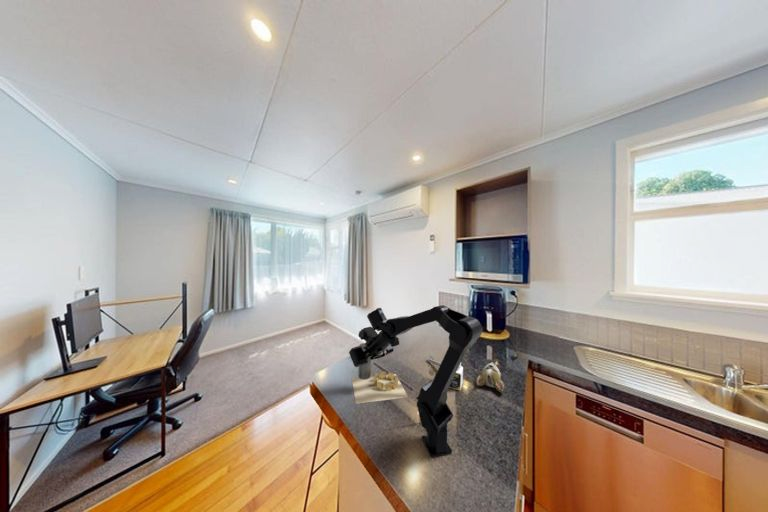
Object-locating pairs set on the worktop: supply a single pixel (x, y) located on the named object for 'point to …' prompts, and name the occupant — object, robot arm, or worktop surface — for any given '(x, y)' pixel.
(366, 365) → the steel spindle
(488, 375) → the ceramic sculpture
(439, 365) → the caliper
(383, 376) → the ring nut
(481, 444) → the worktop surface
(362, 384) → the birch plate
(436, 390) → the robot arm
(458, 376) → the medicine bottle
